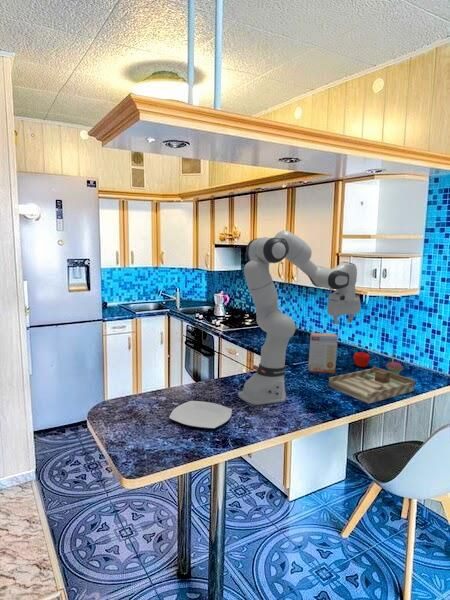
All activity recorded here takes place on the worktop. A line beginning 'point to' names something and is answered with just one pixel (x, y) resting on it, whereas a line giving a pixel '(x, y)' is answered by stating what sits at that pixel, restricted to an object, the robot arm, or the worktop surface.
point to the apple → (361, 359)
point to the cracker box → (322, 352)
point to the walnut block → (382, 376)
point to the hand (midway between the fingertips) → (343, 323)
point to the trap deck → (371, 385)
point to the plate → (201, 414)
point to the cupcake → (394, 367)
